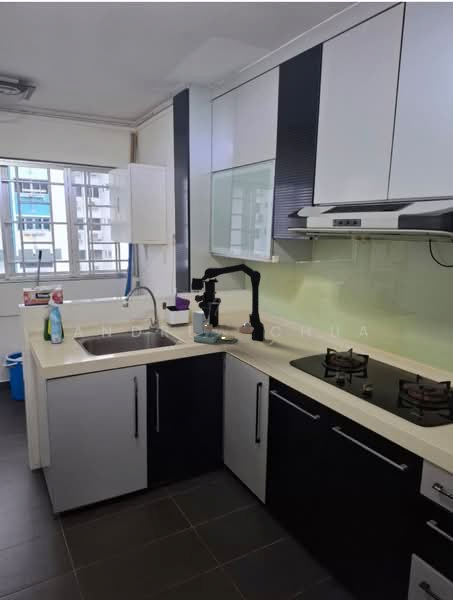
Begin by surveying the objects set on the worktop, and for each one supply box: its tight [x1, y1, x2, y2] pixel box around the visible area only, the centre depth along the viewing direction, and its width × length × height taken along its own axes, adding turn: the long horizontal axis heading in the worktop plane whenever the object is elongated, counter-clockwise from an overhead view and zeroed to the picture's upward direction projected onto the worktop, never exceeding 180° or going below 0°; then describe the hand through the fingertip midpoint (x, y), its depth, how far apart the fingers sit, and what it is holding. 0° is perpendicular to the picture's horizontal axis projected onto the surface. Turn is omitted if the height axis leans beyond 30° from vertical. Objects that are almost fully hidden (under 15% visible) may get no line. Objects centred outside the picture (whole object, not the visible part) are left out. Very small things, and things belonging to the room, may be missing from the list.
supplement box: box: [192, 310, 209, 334], centre depth 243 cm, size 7×7×13 cm
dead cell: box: [243, 321, 251, 328], centre depth 243 cm, size 4×4×6 cm
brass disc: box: [220, 334, 236, 340], centre depth 224 cm, size 8×8×1 cm
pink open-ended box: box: [238, 323, 254, 335], centre depth 243 cm, size 7×7×4 cm
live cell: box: [204, 324, 213, 338], centre depth 225 cm, size 4×4×9 cm
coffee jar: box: [201, 296, 220, 328], centre depth 260 cm, size 11×11×18 cm
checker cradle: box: [216, 337, 238, 345], centre depth 224 cm, size 9×9×2 cm
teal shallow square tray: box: [193, 332, 223, 345], centre depth 226 cm, size 12×12×3 cm
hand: (210, 317), depth 226 cm, fingers open, 9 cm apart
